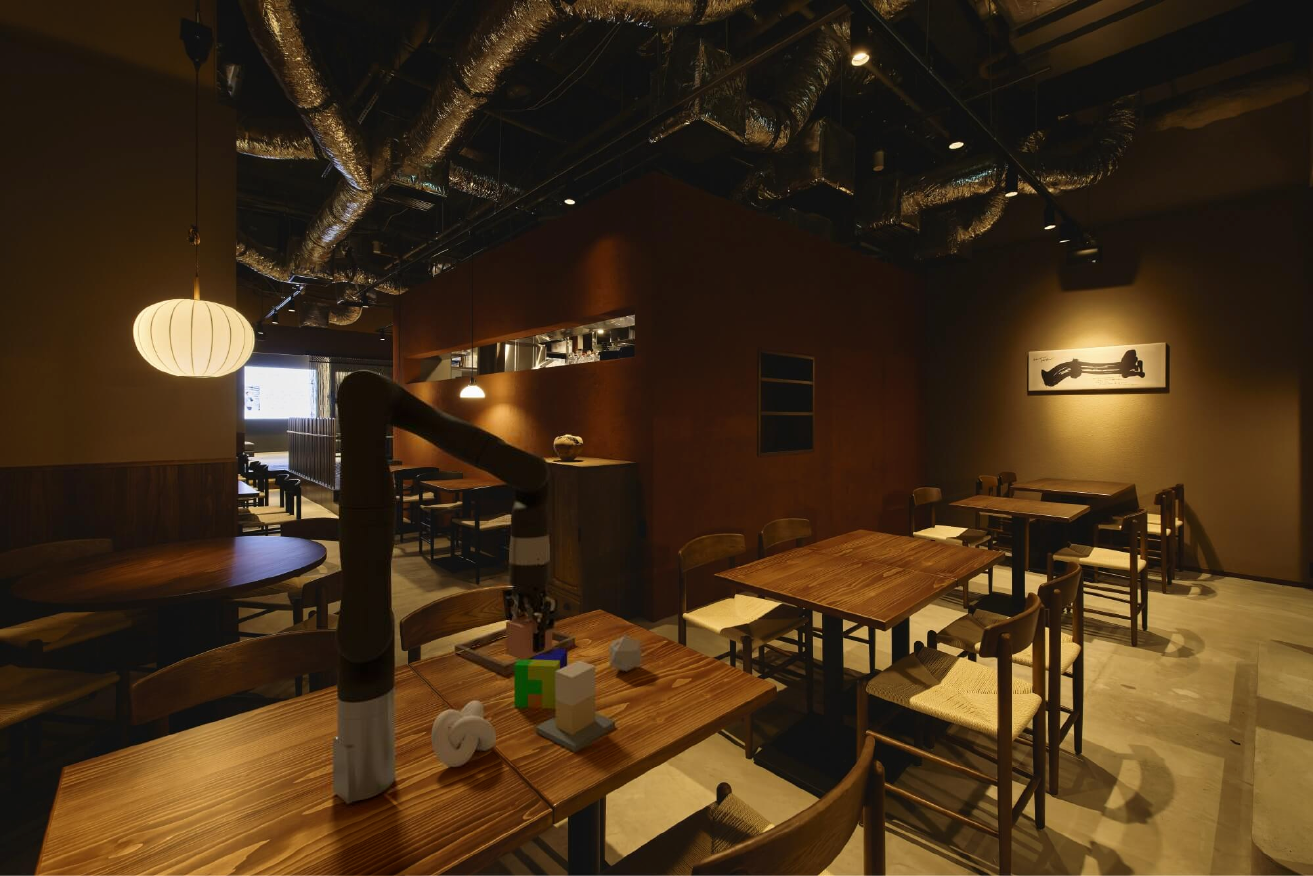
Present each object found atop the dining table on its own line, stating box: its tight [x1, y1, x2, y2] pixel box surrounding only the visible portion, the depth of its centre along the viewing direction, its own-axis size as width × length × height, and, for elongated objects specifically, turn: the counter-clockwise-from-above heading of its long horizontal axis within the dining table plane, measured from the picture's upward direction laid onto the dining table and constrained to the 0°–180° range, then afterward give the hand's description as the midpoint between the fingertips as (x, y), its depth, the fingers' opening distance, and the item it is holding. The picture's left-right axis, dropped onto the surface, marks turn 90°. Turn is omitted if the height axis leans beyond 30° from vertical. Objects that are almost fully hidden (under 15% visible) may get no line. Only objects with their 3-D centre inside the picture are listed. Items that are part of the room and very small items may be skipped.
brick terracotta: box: [505, 612, 553, 660], centre depth 103 cm, size 7×5×6 cm
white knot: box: [431, 700, 497, 768], centre depth 108 cm, size 11×12×9 cm
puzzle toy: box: [513, 649, 568, 710], centre depth 131 cm, size 10×10×10 cm
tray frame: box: [454, 627, 576, 676], centre depth 159 cm, size 25×23×3 cm
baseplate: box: [535, 712, 616, 753], centre depth 117 cm, size 12×12×1 cm
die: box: [609, 634, 643, 673], centre depth 145 cm, size 8×9×10 cm
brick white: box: [555, 660, 596, 706], centre depth 117 cm, size 7×5×6 cm
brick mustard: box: [555, 693, 596, 735], centre depth 117 cm, size 7×5×6 cm
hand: (529, 647), depth 103 cm, fingers closed on brick terracotta, 5 cm apart
